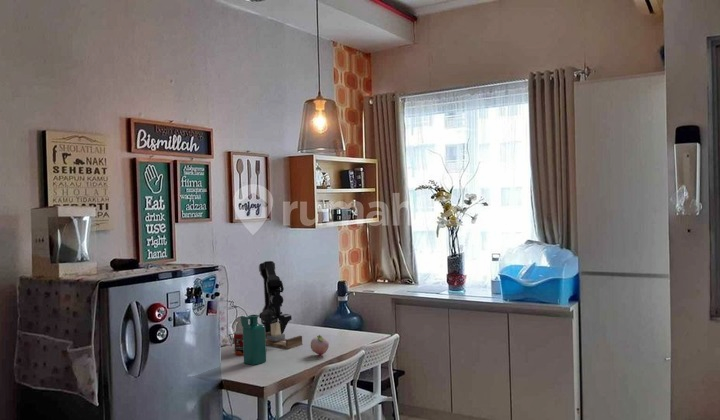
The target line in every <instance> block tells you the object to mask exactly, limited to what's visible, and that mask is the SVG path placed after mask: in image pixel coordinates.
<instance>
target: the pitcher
mask: <svg viewBox="0 0 720 420" xmlns="http://www.w3.org/2000/svg"><path fill="white" fill-rule="evenodd" d="M258 318H259V314H249V315H247V316H245V315H242V316H240V323H241V326H242V330H243V352H244V355H243V363H244V364H246V365H251V366H256V365H260V364H264V363H266V362H267V345H266V336H265V326H263V324H260V323H259V321H258V320H259V319H258Z"/></svg>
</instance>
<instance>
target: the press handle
mask: <svg viewBox="0 0 720 420" xmlns="http://www.w3.org/2000/svg"><path fill="white" fill-rule="evenodd" d="M283 339H286V334H284V333H283V334H281V330H280V324H279V322H276V323H272V324H271V335H267V340H269V341H274V342H276V341H279V340H283Z"/></svg>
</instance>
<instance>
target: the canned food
mask: <svg viewBox="0 0 720 420" xmlns="http://www.w3.org/2000/svg"><path fill="white" fill-rule="evenodd" d="M233 333H234V334H233V342H234V354H235V355H236V356H239V357H240V356H243V357H244V352H243V329H237V330H235V331H234V332H233Z"/></svg>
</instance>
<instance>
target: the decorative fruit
mask: <svg viewBox="0 0 720 420" xmlns="http://www.w3.org/2000/svg"><path fill="white" fill-rule="evenodd" d="M329 347H330V346H329V341H328V340H327V339H326V338H325V337H323V336H322V335H321V334H319V335H316V336H315V337H314V338H313V339H312V340H311V342H310V349H311V351H312V352H313V353H315V354H316V355H319V357H320V356H323V355H324V354H325V353H326V352H327V351H328V350H329Z"/></svg>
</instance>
